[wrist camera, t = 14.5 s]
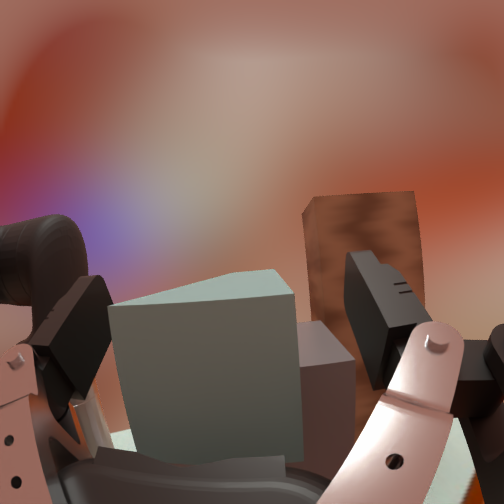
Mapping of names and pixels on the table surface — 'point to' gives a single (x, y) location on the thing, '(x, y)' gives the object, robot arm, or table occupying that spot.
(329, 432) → the tall gray pillar
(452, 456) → the table surface
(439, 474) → the table surface
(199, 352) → the block
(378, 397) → the post
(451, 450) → the table surface
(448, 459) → the table surface
